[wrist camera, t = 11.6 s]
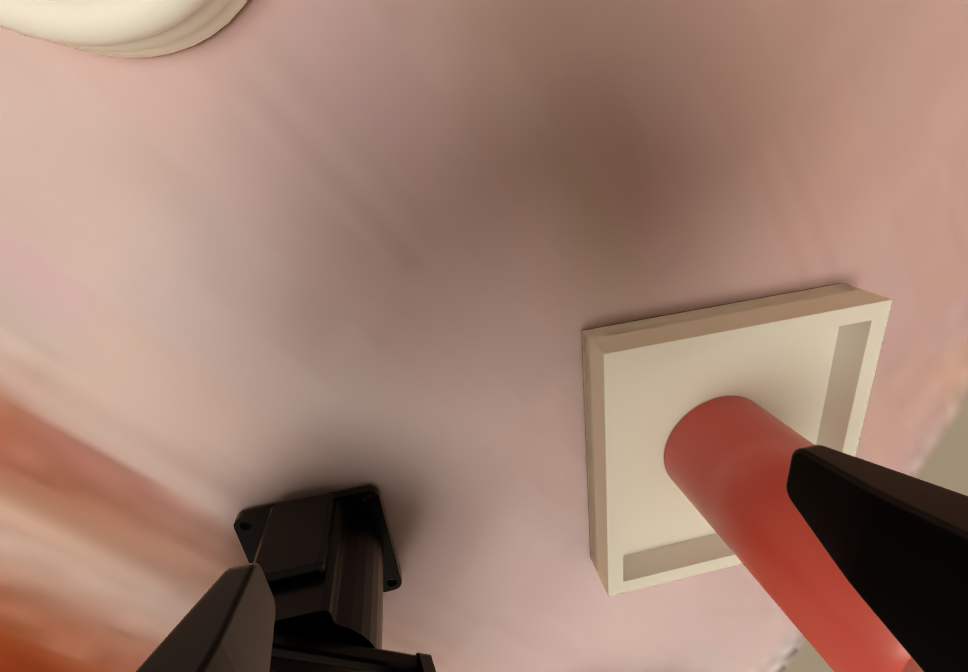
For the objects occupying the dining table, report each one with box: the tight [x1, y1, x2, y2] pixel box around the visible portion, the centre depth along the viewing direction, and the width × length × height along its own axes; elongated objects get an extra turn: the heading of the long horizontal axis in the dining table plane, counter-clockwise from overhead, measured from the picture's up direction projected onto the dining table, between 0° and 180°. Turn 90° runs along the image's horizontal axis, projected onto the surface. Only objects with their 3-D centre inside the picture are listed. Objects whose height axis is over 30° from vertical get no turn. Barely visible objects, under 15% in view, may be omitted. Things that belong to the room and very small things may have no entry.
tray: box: [582, 283, 892, 596], centre depth 24 cm, size 14×13×2 cm
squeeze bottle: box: [664, 396, 924, 672], centre depth 18 cm, size 6×6×15 cm
